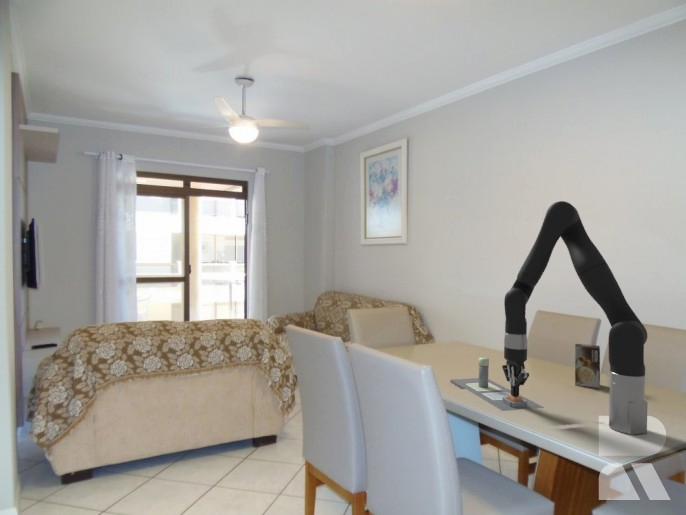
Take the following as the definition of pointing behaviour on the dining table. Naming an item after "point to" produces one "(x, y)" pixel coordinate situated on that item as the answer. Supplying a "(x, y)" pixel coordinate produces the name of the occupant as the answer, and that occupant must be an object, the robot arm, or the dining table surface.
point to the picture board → (494, 394)
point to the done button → (514, 398)
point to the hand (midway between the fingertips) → (514, 395)
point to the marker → (483, 372)
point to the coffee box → (587, 365)
